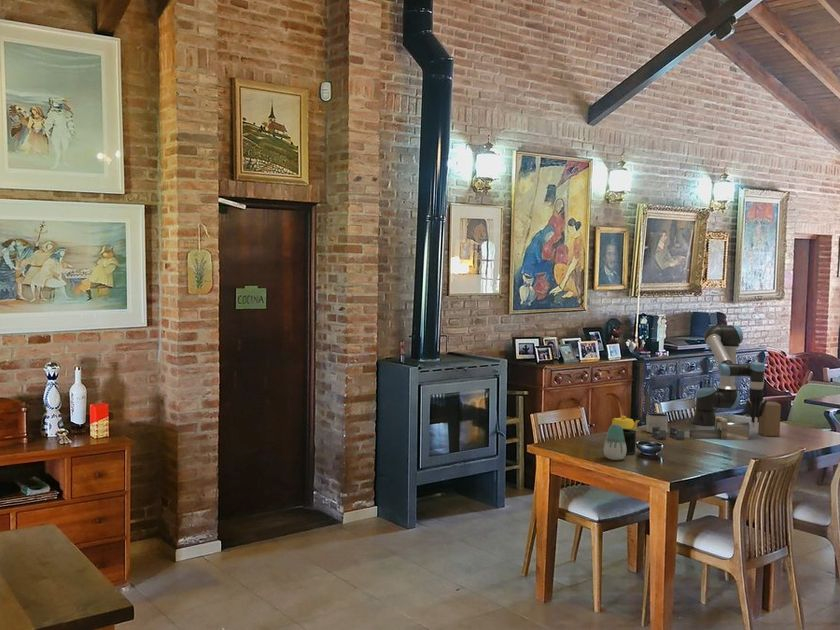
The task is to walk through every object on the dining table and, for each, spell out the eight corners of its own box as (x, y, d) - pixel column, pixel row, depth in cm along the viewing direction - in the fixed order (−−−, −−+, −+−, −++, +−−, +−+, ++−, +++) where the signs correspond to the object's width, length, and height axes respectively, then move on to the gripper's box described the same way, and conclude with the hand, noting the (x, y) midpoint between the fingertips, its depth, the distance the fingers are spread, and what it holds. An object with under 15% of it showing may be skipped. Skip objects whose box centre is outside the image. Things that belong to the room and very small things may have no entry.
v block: (651, 436, 481) (652, 426, 481) (676, 436, 482) (676, 427, 482) (659, 439, 470) (659, 430, 470) (683, 439, 472) (684, 430, 471)
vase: (616, 455, 425) (618, 421, 424) (630, 460, 414) (632, 425, 414) (598, 457, 420) (599, 423, 420) (612, 462, 410) (613, 427, 409)
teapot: (618, 433, 486) (619, 412, 485) (646, 439, 470) (647, 417, 469) (603, 436, 477) (604, 414, 477) (631, 442, 462) (632, 420, 461)
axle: (720, 431, 477) (720, 423, 476) (716, 429, 482) (717, 421, 481) (749, 431, 479) (750, 423, 478) (745, 429, 484) (745, 421, 483)
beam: (687, 436, 482) (688, 416, 482) (743, 436, 486) (744, 416, 485) (694, 439, 473) (694, 419, 472) (751, 439, 477) (751, 419, 476)
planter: (654, 429, 502) (654, 411, 501) (671, 433, 492) (672, 415, 491) (641, 431, 494) (642, 413, 494) (658, 435, 484) (659, 416, 484)
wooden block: (774, 433, 497) (775, 401, 496) (780, 437, 487) (781, 404, 486) (757, 433, 498) (759, 400, 497) (762, 436, 488) (764, 403, 487)
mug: (627, 455, 425) (628, 433, 425) (605, 450, 437) (606, 428, 436) (640, 453, 432) (641, 431, 432) (617, 448, 443) (618, 426, 443)
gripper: (749, 389, 476) (747, 429, 477) (770, 389, 477) (768, 429, 478) (742, 387, 483) (741, 426, 484) (763, 387, 485) (761, 426, 486)
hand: (754, 427), depth 481 cm, fingers closed
